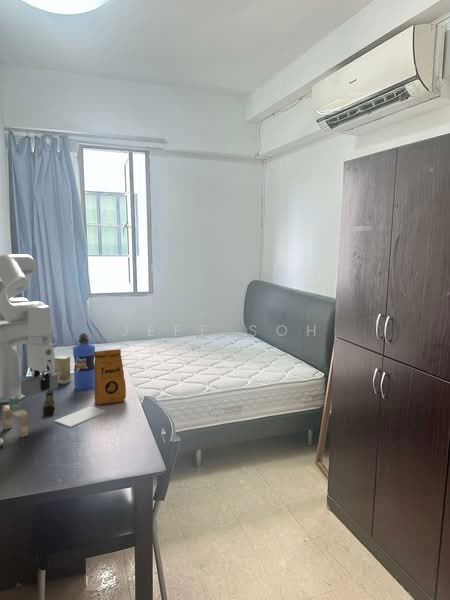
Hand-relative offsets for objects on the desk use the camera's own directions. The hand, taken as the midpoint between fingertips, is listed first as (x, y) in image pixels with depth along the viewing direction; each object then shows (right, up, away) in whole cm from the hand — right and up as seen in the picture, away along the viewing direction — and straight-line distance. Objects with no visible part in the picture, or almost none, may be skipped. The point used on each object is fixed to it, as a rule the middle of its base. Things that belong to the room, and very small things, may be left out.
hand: (41, 387), depth 147 cm
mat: (+12, -12, +5) cm, 18 cm away
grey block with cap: (0, -1, 0) cm, 1 cm away
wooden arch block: (-5, -14, -8) cm, 17 cm away
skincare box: (-10, -7, +44) cm, 46 cm away
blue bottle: (+3, -8, +37) cm, 38 cm away
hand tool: (-4, -11, +15) cm, 19 cm away
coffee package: (+19, -10, +21) cm, 30 cm away
